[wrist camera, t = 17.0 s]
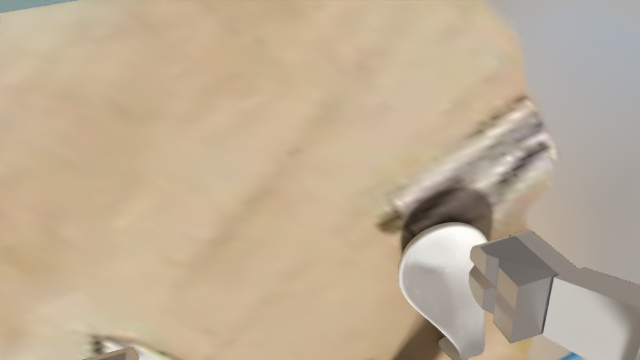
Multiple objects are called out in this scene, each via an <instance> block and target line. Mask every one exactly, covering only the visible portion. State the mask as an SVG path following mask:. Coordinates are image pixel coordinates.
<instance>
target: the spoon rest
mask: <svg viewBox="0 0 640 360" xmlns="http://www.w3.org/2000/svg"><path fill="white" fill-rule="evenodd" d="M485 242H488V240H487V238H486V237H485V235H484V234H483V233H482V232H481V231H480V230H479V229H477V228H476V227H474V226H472V225H469V224H465V223H460V222H448V223H443V224H439V225H435V226H432V227H430V228H428V229H426V230H424V231H422V232H421V233H419V234H418V235H417V236H415V237H414V238H413V239H412V240H411V241H410V243H409V244H408V245H407V246H406V248H405V249H404V251H403V253H402V255H401V258H400V261H399V265H398V281H399V285H400V288H401V290H402V293H403V294H404V296H405V297H406V299H407V300H408V301H409V303H410V304H411V305H412V306H413V307H414V308H415V309H416V310H417V311H418V312H419V313H421V314H422V315H423V316H424V317H425V318H426V319H428V320H429V321H430V322H431V323H432V324H433V325H434V326H436V327H437V328H438V329H439V330H440V331H441V332H442V333H443V334H444V335H446V336H445V337H443V338H442V339H440V340H439V342H438V344H439V346H440V347H441V349H442V350H443V351H444V352H445V353H446V354H447V355H448V356H449V357H450V358H451V359H453V360H467V359H469V358H471V357H473V356H478V355H481V354H482V353H483V351H484V346H485V313H486V310H483V309H482V308H481V307H480V306H479V304H478V303H477V302H476V300H475V298H474V297H473V295H472V292H471V289H470V285H469V272H470V270H471V269H472V268H473V266H474V265H475V264H474V263H473V262H472V261H471V260H470V251H471V249H472V247H473V246H475V245H479V244H482V243H485Z"/></svg>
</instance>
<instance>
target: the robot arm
mask: <svg viewBox="0 0 640 360" xmlns="http://www.w3.org/2000/svg"><path fill="white" fill-rule="evenodd" d="M470 260H471V261H472V262H473V263H474V264H475V265H474V266H473V268H472V269H471V270H470V272H469V285H470V289H471V292H472V295H473V297H474V298H475V300H476V302H477V303H478V304H479V306H480V307H481V308H482V309H483V310H486V311H488V312H490V313H492V314H493V323H494V324H495V326H496V327H497V328H498V329H499V330H500V332H501V333H502V334H503V335H504V336H505V338H506V339H507V340H508V341H509V343H510V344H511V343H514V342H517V341H520V340H524V339H527V338H530V337H533V336H537V335H540V334H543V336H544V337H546V338H548V339H550V340H552V341H554V342H555V343H557V344H559V345H561V346H563V347H565V348H567V349H568V350H570V351H572V352H574V353H576V354H577V355H579V356H581V357H583V358H585V359H587V360H640V285H639V284H636V283H633V282H630V281H627V280H623V279H620V278H617V277H614V276H611V275H608V274H605V273H601V272H598V271H595V270H592V269H589V268H586V267H584V268H581V269H579V268H577V267H576V266H575V265H574V264H573V263H571V262H570V261H569V260H568V259H566V258H565V257H564V256H563V255H561V254H560V253H559V252H558V251H556V250H555V249H554V248H553V247H552V246H551V245H549V244H548V243H547V242H546V241H544V240H543V239H542V238H541V237H540V236H538V235H537V234H536V233H535V232H533V231H531V230H524V231H521V232H518V233H515V234H511V235H509V236H505V237H502V238H498V239H495V240H492V241H488V242H485V243H482V244H479V245H475V246H473V247H472V249H471V251H470ZM83 360H139V356H138V354H137V352H136V351H135V349H134V347H128V348H124V349H120V350H116V351H113V352H109V353H105V354H102V355H98V356H94V357H90V358H87V359H83Z"/></svg>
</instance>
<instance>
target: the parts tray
mask: <svg viewBox="0 0 640 360" xmlns="http://www.w3.org/2000/svg"><path fill="white" fill-rule="evenodd" d="M70 1H77V0H0V13H3V12H9V11H15V10H21V9H27V8H33V7H40V6H46V5H52V4H58V3H64V2H70Z"/></svg>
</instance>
